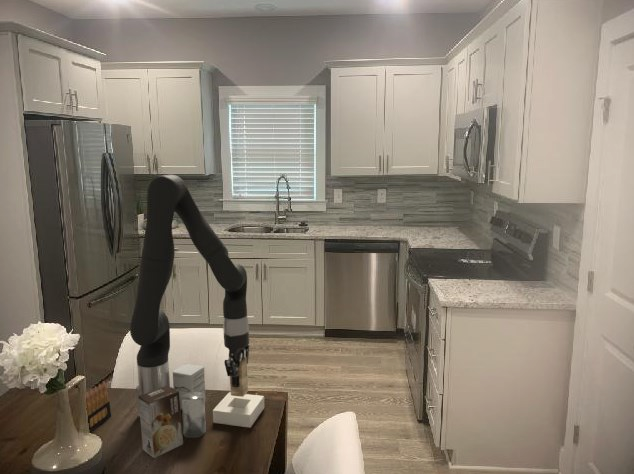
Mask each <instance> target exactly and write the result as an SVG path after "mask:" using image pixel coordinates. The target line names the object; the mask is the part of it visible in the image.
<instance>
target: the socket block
mask: <svg viewBox="0 0 634 474" xmlns="http://www.w3.org/2000/svg"><path fill="white" fill-rule="evenodd" d="M264 409H265V396H264V395H258V394H257V395H256V394H249V393H246V394H245V395H244V396H243V397H240V396H231V391H229V392H228V393H227V394H226V395H225V396H224V397H223V399H221V400H220V401H219V403H218V404H216V406H215V407H214V409H212V422H213V424H219V425H220V424H222V425H227V426H228V425H229V426H237V427H243V428H252V426H253V425H254V423H255V422H256V421H257V419H258V418H259V416H260V415H261V413H262V412H263V410H264Z"/></svg>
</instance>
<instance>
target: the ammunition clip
mask: <svg viewBox="0 0 634 474" xmlns="http://www.w3.org/2000/svg"><path fill="white" fill-rule="evenodd" d="M107 390H108V389H107V384H106V382H105V381H104V380H103V381H102V384H101V383H99V384H98V387H97V386H96V385H95V386H94V389H92V388H91V389H90V390H89V391H86V394H85V399H86V408H87V415H88V423H89V430H90V433H91V432H92V431H94V430H95V429H96V428H98V427H99V426H100V425H102V424H103V423H105V421H107V420H109V419H110V418H112V411H111V410H112V409H111V404H110V401H109V395H108V394H109V393H108V391H107Z"/></svg>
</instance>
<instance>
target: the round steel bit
mask: <svg viewBox="0 0 634 474" xmlns="http://www.w3.org/2000/svg"><path fill="white" fill-rule="evenodd" d="M181 400H182V409H181V410H182V412H181V413H182V414H181V417H182V434H183V436H184V437H185V438H187V439H197V438H198V439H199V438H201V437H202V436H204V435H205V434H206V432H207V424H206V423H207V421H206V407H205V406H206V404H205V403H206V402H204V394H203V393H200V392H191V393H187V394H185V395H183V396H182V398H181Z"/></svg>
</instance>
